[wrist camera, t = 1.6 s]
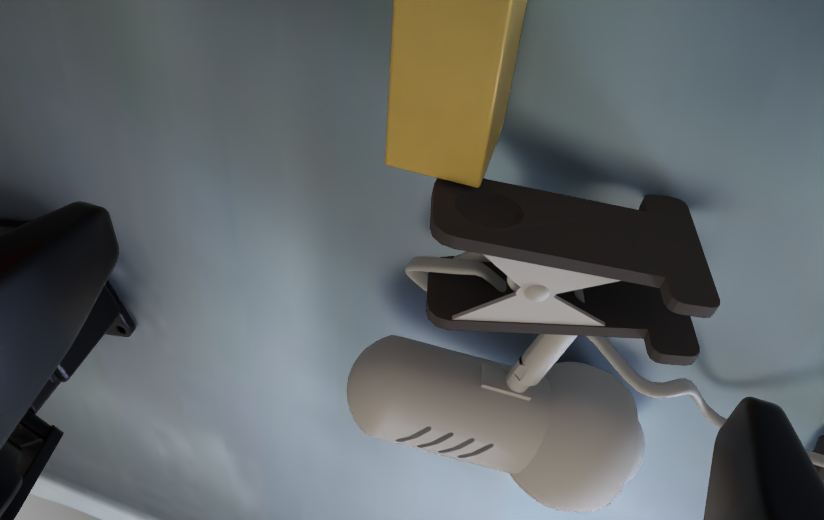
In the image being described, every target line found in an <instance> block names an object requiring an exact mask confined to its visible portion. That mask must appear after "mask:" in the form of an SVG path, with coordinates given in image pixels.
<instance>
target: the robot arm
mask: <svg viewBox="0 0 824 520" xmlns="http://www.w3.org/2000/svg"><path fill="white" fill-rule="evenodd" d="M118 255H119V246H118V242H117V239H116V235H115V232H114V228H113V225H112V221H111V218H110V215H109V213H108V211H107V210H106V209H105V208H103V207H100V206H96V205H93V204H90V203H86V202H74V203H71V204H69V205H67V206H65V207H62V208H60V209H58V210H55V211H53V212H51V213H49V214H46V215H44V216H42V217H39V218H37V219H35V220H32V221H30V222H19V221H7V220H0V520H14V518H15V517H16V515H17V513H18V512H19V510H20V508H21V507H22V505H23V503H24V501H25V500H26V498H27V496H28V494H29V493H30V491H31V489H32V488H33V486H34V484H35V482H36V481H37V479H38V477H39V475H40V474H41V472H42V470H43V468H44V467H45V465H46V463H47V462H48V460H49V458H50V456H51V455H52V453H53V451H54V449H55V448H56V446H57V444H58V442H59V441H60V439H61V437H62V435H63V432H62V431H61V430H59V429H58V428H57V427H55V426H54V425H51V426H50V425H49V424H47V423H46V422H45V421H43V420H42V419H40V418H39V417H38V416H36V415H35V414H36V413H37V412H38V410H39V409H40V408H41V406H42V405H43V404H44V403H45V401H46V400H47V399H48V398H49V396H50V395H51V394H52V393H53V391H54V390H55V389H56V388H57V386H58V385H59V384H60V383H61V382H66V381H67V380H69V378H70V377H71V376H72V375H73V373H74V372H75V371H76V369H77V368H78V367H79V366H80V364H81V363H82V362H83V361H84V359H85V358H86V357H87V355H88V354H89V353H90V352H91V350H92V349H93V348H94V347H95V345H96V344H97V343H98V342H99V340H100V339H101V338H102V336H103V335H104V334H109V335H116V336H123V337H129V336H131V334H132V333H133V332H134V330H135V328H136V327H135V324H134V323H133V321H132V320H131V318H130V316H129V315H128V313H127V311H126V310H125V308H124V307H123V305H122V303H121V302H120V300H119V298H118V297H117V295H116V293H115V292H114V290H113V289H112V287H111V285H110V284H109V282H108V278H109V276H110V274H111V272H112V270H113V268H114V267H115V265H116V262H117V259H118ZM704 520H824V483H823V481H822V479H821V477H820V475H819V474H818V472H817V470H816V468H815V466H814V465H813V463H812V461H811V459H810V457H809V455H808V454H807V452H806V450H805V448H804V446H803V445H802V443H801V441H800V439H799V437H798V436H797V434H796V432H795V430H794V428H793V427H792V425H791V423H790V421H789V419H788V418H787V416H786V414H785V412H784V411H783V410H782V408H781V407H779V406H778V405H776V404H774V403H771V402H767V401H764V400H760V399H757V398H754V397H746V398H744V399H743V400H742V401H741V402H740V403H739V404H738V406H737V407H736V408H735V410H734V411H733V412H732V414H731V415H730V416H729V418H728V419H727V420H726V422H725V423H724V424H723V426H722V427H721V429H720V430H719V432H718V434H717V437H716V441H715V445H714V451H713V458H712V465H711V472H710V479H709V486H708V493H707V500H706V507H705V514H704Z"/></svg>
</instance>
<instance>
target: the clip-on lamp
mask: <svg viewBox="0 0 824 520" xmlns="http://www.w3.org/2000/svg"><path fill="white" fill-rule="evenodd" d="M430 230H431V233H432V236H433V237H434V238H435V239H436V240H437V241H438V242H439V243H441V244H442V245H445V246H448V247H451V248H453V249H458V250H463V251H467V252H465V253H463V254H460V255H458V256H448V257H440V258H438V257H425V256H422V257H415V258H413V259H412V260H411V261H410V263H409V264H408V265H407V267H406V269H405V271H406V274H407V275H408V276H409V277H410V278H411V279H412V280H413V281H414V282H415V283H416V284H417V285H419V286H420V287H421V288H422V289H423V290H425V291H426V292H427V300H426V313H427V316H428V320H429V321H431V322H432V323H433V324H434V325H435V326H436V327H440V328H443V329H447V330H463V331H485V332H508V333H530V334H538V336H537V337H536V338H535V340H534V341H533V342H532V343H531V345H530V346H529V347H528V349H527V350H526V351H525V352H524V353H523V354H522V356H521V357H520V358H519V360H518V361H517V362H516V364H515V365H514V366H513V367H512V366H509V365H505V364H501V363H498V362H494V361H490V360H486V359H483V358H479V357H475V356H471V355H468V354H464V353H460V352H457V351H453V350H449V349H445V348H442V347H438V346H434V345H431V344H427V343H423V342H419V341H416V340H412V339H408V338H404V337H401V336H395V335H391V336H387V337H384V338H382V339H380V340H378V341H376V342H374V343H373V344H372V345H370V346H369V347H367V348H366V349H365V350H364V351H363V352H362V353H361V354H360V355H359V357H358V358H357V360H356V361H355V363H354V365H353V367H352V369H351V371H350V374H349V377H348V383H347V400H348V405H349V409H350V412H351V414H352V416H353V418H354V420H355V422H356V423H357V425H358V426H359V428H360V429H361V430H362V431H363V432H364V433H365V434H366V435H368V436H371V437H374V438H377V439H381V440H385V441H389V442H393V443H396V444H400V445H404V446H408V447H412V448H415V449H419V450H423V451H427V452H431V453H434V454H438V455H442V456H446V457H450V458H453V459H457V460H461V461H465V462H469V463H472V464H476V465H480V466H484V467H488V468H491V469H495V470H499V471H503V472H507V473H510V475H511V477H512V478H513V480H514V481H515V482H516V483H517V484H518V485H519V486H520V487H521V488H522V489H523V490H524V491H525V492H526V493H527V494H528V495H529V496H531V497H532V498H533V499H535V500H536V501H537V502H539V503H541V504H543V505H545V506H547V507H550V508H552V509H555V510H561V511H568V512H592V511H596V510H599V509H601V508H603V507H605V506H607V505H609V504H610V503H611V502H612V501H613V500H614V499H615V498H616V496H617V495H618V494H619V493H620V492H621V491H622V489H623V487H624V485H625V484H626V483H627V482H628V481H630V480H631V478H632V477H633V476H634V475H635V474H636V472H637V471H638V470H639V467H640V465H641V463H642V460H643V457H644V451H645V440H644V434H643V431H642V428H641V425H640V423H639V421H638V416H637V408H636V405H635V402H634V399H633V396H632V393H631V392H630V391H629V390H628V388H627V387H626V386H625V385H624V384H623V383H622V382H621V381H620V380H619V379H618V378H617V377H615V376H613V375H612V374H610V373H608V372H607V371H604V370H602V369H599V368H596V367H594V366H591V365H588V364H584V363H579V362H561V363H556V361H557V360H558V359H559V358H560V357H561V355H562V354H563V353H564V352H565V351H566V349H567V348H568V347H569V346H570V345H571V343H572V342H573V341H574V340H575V339H576V337H577V336H587V337H588V338H589V339H590V340H591V341H592V342H593V343H594V344H595V345H596V347H597V348H598V349H599V350H600V351H601V353H602V354H603V355H604V356H605V357H606V359H607V360H608V361H609V362H610V363H611V365H612V366H613V367H614V368H615V369H616V370H617V372H618V373H619V374H620V375H621V376H622V377H623V379H624V380H625V381H626V382H627V383H629V384H630V385H631V386H632V387H633V388H634V389H635V390H636V391H638V392H639V393H642V394H644V395H646V396H649V397H651V398H670V397H675V396H680V395H685V394H690V395H692V397H693V398H694V400H695V402H696V404H697V405H698V407H699V409H700V410H701V412H702V413H703V414H704V416H705V417H706V418H707V419H709V420H710V421H711V422H712V423H713V424H714V425H716V426H717V427H719V428H721V427H722V426H723V424H724V423H725V422H726V420H727V419H725V418H724V417H722V416H720V415H719V414H717V413H716V412H715V411H714V410H713V409H712V408H710V407H709V406H708V404H707V403H706V402H705V400H704V399H703V398H702V396H701V394H700V392H699V391H698V389H697V387H696V386H695V385H694V383H693V382H692V381H690V380H688V379H685V378H684V379H676V380H672V381H668V382H663V383H659V382H651V381H648V380H646V379H644V378H642V377H641V376H639V375H638V374H637V373H636V372H635V371H634V370H633V369H632V368H631V367H630V366H629V365H628V364H627V362H626V361H625V360H624V359H623V358H622V356H621V355H620V354H619V353H618V351H617V350H616V349H615V348H614V347H613V345H612V344H611V343H610V342H609V341H608V339H607V338H606V337H619V338H642V339H644V341H645V346H646V350H647V354H648V356H649V357H650V359H652V360H653V361H655V362H657V363H661V364H671V365H684V366H686V365H692V364H693V363H694V362H695V360H696V358H697V356H698V354H699V352H700V347H699V344H698V341H697V337H696V334H695V330H694V327H693V324H692V320H691V317H690V316H694V317H701V318H710V317H711V316H712V315H713V314H714V313H715V311H716V310H717V308H718V307H719V305H720V299H719V296H718V293H717V290H716V287H715V284H714V281H713V278H712V275H711V273H710V270H709V267H708V264H707V261H706V258H705V255H704V252H703V249H702V246H701V243H700V241H699V238H698V235H697V232H696V229H695V226H694V223H693V220H692V217H691V214H690V211H689V209H688V206H687V205H686V204H685V203H684V202H683V201H681V200H679V199H676V198H670V197H664V196H658V195H647V196H645V197H644V199H643V201H642V203H641V205H640V207H639V210H636V209H631V208H626V207H621V206H616V205H611V204H606V203H601V202H596V201H591V200H586V199H581V198H576V197H571V196H566V195H561V194H557V193H552V192H547V191H542V190H537V189H532V188H527V187H522V186H517V185H512V184H507V183H502V182H497V181H492V180H487V179H483V180H482V183H481V185H480V187H478V188H476V187H472V186H468V185H464V184H460V183H456V182H452V181H448V180H444V179H440V178H437V180H436V182H435V184H434V188H433V192H432V197H431V216H430ZM427 272H428V273H427ZM806 452H807V454H808V455H809V457H810V459H811V461H812V463H813V465H814V466H815V468H816V470H817V472H818V474H819V475H820V477H821V479H822V481H823V483H824V435H822V436H820V437H819V438H818V441H817V443H816V446H815V449H814V451H813V452H811V451H808V450H806Z"/></svg>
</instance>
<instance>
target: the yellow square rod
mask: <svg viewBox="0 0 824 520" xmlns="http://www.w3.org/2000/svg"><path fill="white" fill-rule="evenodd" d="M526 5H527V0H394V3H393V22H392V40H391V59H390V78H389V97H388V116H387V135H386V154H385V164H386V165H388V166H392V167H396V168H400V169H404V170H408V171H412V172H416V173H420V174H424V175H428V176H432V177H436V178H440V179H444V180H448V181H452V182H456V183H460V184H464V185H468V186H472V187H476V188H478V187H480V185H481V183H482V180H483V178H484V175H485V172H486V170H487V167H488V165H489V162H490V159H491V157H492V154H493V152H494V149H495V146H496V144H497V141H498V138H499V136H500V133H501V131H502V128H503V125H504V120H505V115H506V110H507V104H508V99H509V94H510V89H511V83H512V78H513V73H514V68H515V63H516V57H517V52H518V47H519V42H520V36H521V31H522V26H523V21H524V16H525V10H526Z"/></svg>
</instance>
